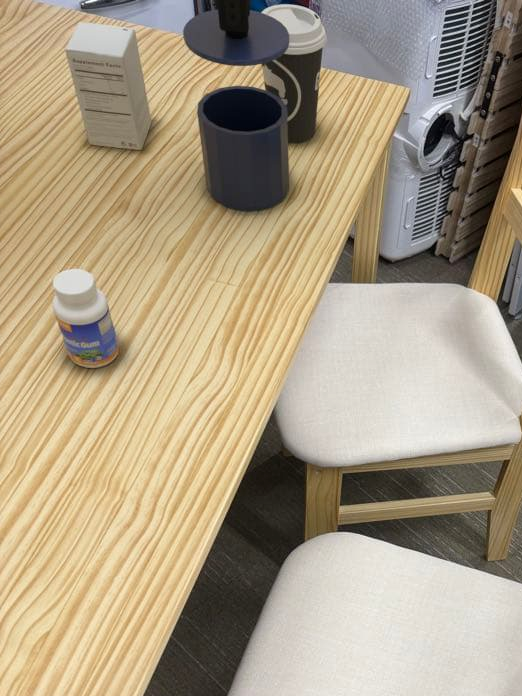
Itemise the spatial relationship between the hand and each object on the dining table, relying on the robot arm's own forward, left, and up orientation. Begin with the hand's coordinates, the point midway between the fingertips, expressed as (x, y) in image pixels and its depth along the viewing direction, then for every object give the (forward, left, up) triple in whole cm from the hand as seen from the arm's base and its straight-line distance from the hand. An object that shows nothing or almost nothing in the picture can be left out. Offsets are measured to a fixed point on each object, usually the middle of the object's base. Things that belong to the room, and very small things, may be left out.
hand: (235, 21), depth 88 cm
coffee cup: (+6, +14, -21) cm, 26 cm away
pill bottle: (-16, -31, -21) cm, 41 cm away
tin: (0, 0, -21) cm, 21 cm away
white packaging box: (-18, +12, -21) cm, 30 cm away
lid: (0, 0, -2) cm, 2 cm away
